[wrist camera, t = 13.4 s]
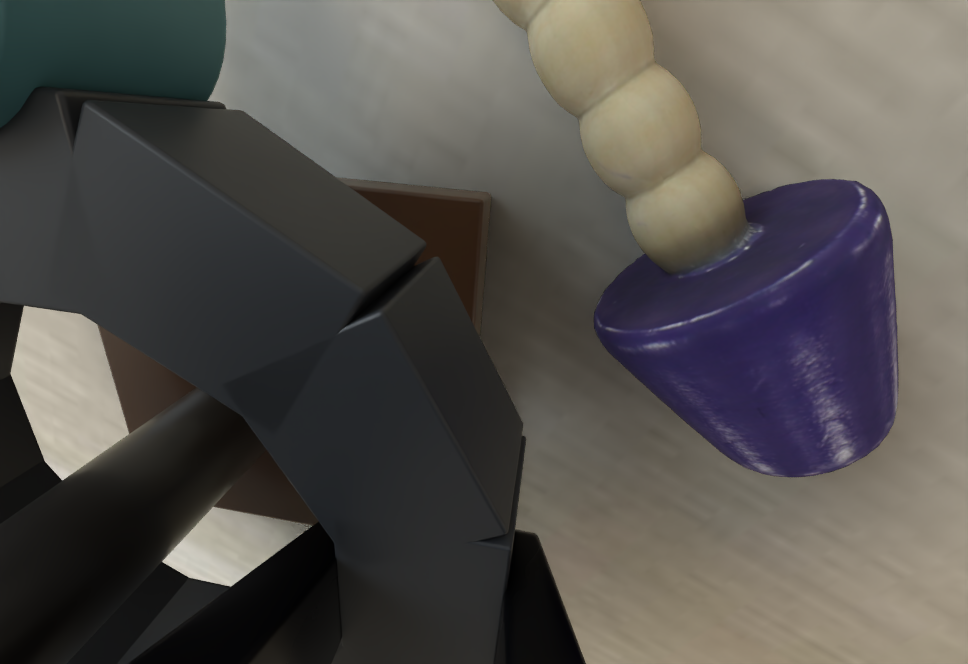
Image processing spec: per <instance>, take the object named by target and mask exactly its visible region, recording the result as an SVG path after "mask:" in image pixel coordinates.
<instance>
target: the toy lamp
mask: <svg viewBox="0 0 968 664" xmlns="http://www.w3.org/2000/svg"><path fill="white" fill-rule="evenodd" d="M493 1H494V2H495V4H496V5H497V6H498V7H499V9H500V10H501V11H502V12H503V13H504V14H505V15H506V16H507V17H508V18H509V19H510V20H511V21H512V22H513V23H514V24H516V25H517V26H519V27H521V28H522V29H524V30H526V32H527V35H528V42H529V49H530V53H531V57H532V60H533V63H534V66H535V68H536V71H537V73H538V75H539V77H540V78H541V80H542V82H543V84H544V86H545V87H546V89H547V90H548V91H549V93H550V94H551V96H552V97H553V98H554V99H555V101H556V102H557V103H558V104H559V105H560V106H561V107H563V108H564V109H565V110H566V111H568V112H569V113H571V114H572V115H574V116H575V117H577V118H578V120H579V125H580V135H581V141H582V144H583V148H584V151H585V154H586V156H587V158H588V160H589V162H590V164H591V166H592V167H593V169H594V170H595V172H596V173H597V174H598V176H599V177H600V178H601V179H602V181H603V182H604V183H605V184H606V185H607V186H609V187H610V188H611V189H612V190H613V191H615V192H616V193H618V194H620V195H622V196H623V197H625V199H626V213H627V218H628V223H629V225H630V228H631V231H632V234H633V236H634V238H635V240H636V242H637V243H638V245H639V246H640V248H641V249H642V250H643V252H644V253H645V254H643V255H642V256H641V257H639V258H637V259H636V261H635V262H634V263H632V264H631V265H630V266H628V267H627V268H626V269H625V270H623V271H622V272H621V273H620V274H619V275H618V276H617V277H616V279H615V280H614V281H613V282H612V283H611V284H610V285H609V286H608V287H607V288H606V290H605V291H604V293H603V295H602V296H601V298H600V300H599V302H598V303H597V307H596V310H595V312H594V328H595V331H596V334H597V336H598V338H599V339H600V341H601V343H602V344H603V346H604V347H605V348H606V350H607V351H608V352H609V353H610V354H611V355H612V356H613V357H614V358H615V359H617V360H618V361H619V362H620V363H621V364H622V365H623V366H624V367H625V368H626V369H627V370H628V371H629V372H631V373H632V374H633V375H634V376H635V377H636V378H637V379H638V380H639V381H640V382H642V383H643V384H644V385H645V386H646V387H647V388H648V389H649V390H650V391H651V392H653V393H654V394H655V395H656V396H657V397H658V398H659V399H660V400H661V401H663V402H664V403H665V404H666V405H667V406H668V407H670V408H671V409H672V410H673V411H674V412H675V413H676V414H677V415H678V416H679V417H681V418H682V419H683V420H684V421H685V422H686V423H687V424H689V425H690V426H691V427H692V428H693V429H695V430H696V431H697V432H698V433H699V434H700V435H702V436H703V437H704V438H705V439H706V440H707V441H709V442H710V443H711V444H712V445H713V446H714V447H716V448H717V449H718V450H719V451H720V452H722V453H723V454H724V455H726V456H727V457H728V458H730V459H731V460H733V461H735V462H736V463H738V464H740V465H742V466H743V467H745V468H748V469H750V470H753V471H756V472H759V473H762V474H766V475H771V476H779V477H806V476H815V475H819V474H824V473H828V472H832V471H835V470H838V469H841V468H843V467H846V466H848V465H850V464H852V463H854V462H856V461H857V460H859V459H861V458H863V457H865V456H866V455H868V454H869V453H870V452H871V451H873V450H874V449H875V448H877V447H878V446H879V444H880V443H881V442H882V441H883V439H884V438H885V437H886V436H887V434H888V433H889V431H890V429H891V427H892V425H893V423H894V419H895V414H896V409H897V404H898V349H897V323H896V297H895V282H894V264H893V239H892V234H891V229H890V223H889V218H888V215H887V212H886V210H885V207H884V205H883V204H882V202H881V200H880V199H879V197H878V196H877V195H876V194H875V193H874V192H873V191H872V190H871V189H869V188H867V187H865V186H864V185H862V184H861V183H859V182H857V181H847V180H836V179H821V180H813V181H807V182H802V183H796V184H789V185H785V186H781V187H777V188H775V189H773V190H772V191H766V192H763V193H761V194H758V195H756V196H753V197H750V198H747V199H745V200H742V197H741V193H740V190H739V188H738V186H737V184H736V183H735V181H734V179H733V178H732V176H731V175H730V174H729V172H728V171H727V170H726V168H725V167H724V166H723V165H722V164H721V163H719V162H718V161H717V160H716V159H715V158H713V157H712V156H710V155H709V154H707V153H705V152H704V151H702V149H701V128H700V122H699V118H698V115H697V112H696V109H695V106H694V104H693V102H692V100H691V98H690V96H689V94H688V93H687V91H686V90H685V88H684V87H683V86H682V84H681V83H680V82H679V81H678V80H677V79H676V78H675V77H674V76H673V75H672V74H671V73H670V72H669V71H667V70H666V69H664V68H663V67H661V66H660V65H658V64H657V63H656V62H655V59H654V44H653V34H652V31H651V27H650V24H649V21H648V18H647V15H646V13H645V10H644V8H643V6H642V4H641V2H640V0H493Z"/></svg>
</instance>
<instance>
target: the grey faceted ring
mask: <svg viewBox="0 0 968 664" xmlns="http://www.w3.org/2000/svg"><path fill="white" fill-rule="evenodd" d="M225 44H226V11H225V0H0V524H1V523H2V522H4V521H5V520H7V519H8V518H10V517H11V516H12V515H14V514H15V513H17V512H18V511H20V510H21V509H23V508H24V507H25V506H27V505H28V504H30V503H31V502H33V501H34V500H35V499H37V498H38V497H40V496H41V495H43V494H44V493H46V492H47V491H48V490H50V489H51V488H53V487H54V486H56V485H57V484H58V483H60V482H61V481H62V480H61V479H60V478H59V477H58V475H57V474H56V473H55V472H54V471H53V470H52V469H51V468H50V467H49V466H48V465H47V463H46V462H45V461H44V458H43V456H42V453H41V450H40V448H39V445H38V443H37V440H36V438H35V435H34V433H33V430H32V428H31V425H30V423H29V420H28V417H27V415H26V412H25V410H24V407H23V405H22V402H21V400H20V397H19V395H18V392H17V389H16V387H15V384H14V382H13V379H12V377H11V374H10V372H11V367H12V362H13V357H14V352H15V347H16V342H17V337H18V332H19V327H20V322H21V317H22V312H23V307H24V306H30V307H37V308H44V309H50V310H57V311H64V312H71V313H78V314H82V315H84V316H85V317H87V318H88V319H90V320H92V321H93V322H95V323H96V324H98V325H99V326H101V327H103V328H104V329H106V330H107V331H109V332H110V333H112V334H114V335H115V336H117V337H118V338H120V339H121V340H123V341H125V342H126V343H128V344H129V345H131V346H133V347H134V348H136V349H137V350H139V351H140V352H142V353H144V354H145V355H147V356H148V357H150V358H151V359H153V360H155V361H156V362H158V363H159V364H161V365H162V366H164V367H166V368H167V369H169V370H170V371H172V372H174V373H175V374H177V375H178V376H180V377H181V378H183V379H185V380H186V381H188V382H189V383H191V384H192V385H194V386H196V387H197V388H199V389H200V390H202V391H203V392H205V393H207V394H208V395H210V396H211V397H213V398H215V399H216V400H218V401H219V402H221V403H222V404H224V405H226V406H227V407H229V408H230V409H232V410H233V411H235V412H237V413H238V414H240V415H241V416H242V417H243V418H244V419H245V421H246V422H247V423H248V425H249V426H250V428H251V429H252V430H253V432H254V433H255V434H256V436H257V437H258V439H259V440H260V441H261V443H262V444H263V445H264V447H265V448H266V450H267V451H268V452H269V454H270V455H271V456H272V458H273V459H274V461H275V462H276V463H277V465H278V466H279V467H280V469H281V470H282V472H283V473H284V474H285V476H286V477H287V479H288V480H289V481H290V483H291V484H292V485H293V487H294V488H295V490H296V491H297V492H298V494H299V495H300V496H301V498H302V499H303V501H304V502H305V503H306V505H307V506H308V507H309V509H310V510H311V512H312V513H313V514H314V516H315V517H316V518H317V520H318V521H319V523H320V524H321V525H322V527H323V528H324V529H325V531H326V532H327V534H328V535H329V536H330V538H331V539H332V540H333V542H334V547H335V558H336V562H337V575H338V588H339V601H340V614H341V627H342V639H341V642H340V644H339V647H338V649H337V652H336V654H335V656H334V659H333V661H332V663H331V664H494V662H495V655H496V648H497V641H498V634H499V626H500V619H501V612H502V605H503V598H504V593H505V591H506V589H507V585H508V578H509V571H510V564H511V557H512V550H513V542H514V533H515V525H516V517H517V509H518V501H519V493H520V485H521V477H522V469H523V461H524V453H525V445H526V437H525V436H522V430H523V422H522V420H521V418H520V416H519V414H518V412H517V410H516V408H515V406H514V404H513V402H512V401H511V399H510V397H509V395H508V393H507V391H506V389H505V387H504V385H503V383H502V381H501V379H500V377H499V375H498V373H497V371H496V369H495V367H494V365H493V363H492V361H491V359H490V357H489V355H488V353H487V351H486V349H485V347H484V345H483V343H482V341H481V339H480V337H479V335H478V333H477V331H476V329H475V327H474V325H473V323H472V321H471V319H470V317H469V315H468V313H467V311H466V309H465V307H464V305H463V303H462V301H461V299H460V297H459V295H458V293H457V291H456V289H455V287H454V285H453V283H452V281H451V279H450V277H449V275H448V273H447V271H446V269H445V267H444V265H443V263H442V261H441V259H440V258H439V257H433V258H431V259H428V260H426V261H424V262H422V263H420V264H417V265H415V264H416V262H417V260H418V259H419V257H420V256H421V254H422V253H423V251H424V249H425V248H426V244H427V243H426V242H425V241H424V240H423V239H421V238H420V237H419V236H417V235H416V234H414V233H413V232H412V231H410V230H409V229H407V228H406V227H405V226H403V225H402V224H400V223H399V222H398V221H396V220H395V219H393V218H392V217H391V216H389V215H388V214H386V213H385V212H384V211H382V210H381V209H379V208H378V207H377V206H375V205H374V204H372V203H371V202H370V201H368V200H367V199H365V198H364V197H363V196H361V195H360V194H358V193H357V192H356V191H354V190H353V189H351V188H350V187H349V186H347V185H346V184H344V183H343V182H342V181H340V180H339V179H337V178H336V177H335V176H333V175H332V174H330V173H329V172H328V171H326V170H325V169H323V168H322V167H321V166H319V165H318V164H316V163H315V162H314V161H312V160H311V159H309V158H308V157H307V156H305V155H304V154H302V153H301V152H300V151H298V150H297V149H295V148H294V147H293V146H291V145H290V144H288V143H287V142H286V141H284V140H283V139H281V138H280V137H279V136H277V135H276V134H274V133H273V132H272V131H270V130H269V129H267V128H266V127H265V126H263V125H262V124H260V123H259V122H258V121H256V120H255V119H253V118H252V117H251V116H249V115H248V114H246V113H245V112H244V111H240V110H227V109H226V107H225V105H224V104H222V103H220V102H213V101H207V100H208V99H209V97H210V95H211V94H212V92H213V90H214V87H215V85H216V82H217V80H218V78H219V74H220V70H221V67H222V63H223V58H224V51H225ZM414 265H415V266H414ZM229 588H230V586H225V585H220V584H215V583H211V582H206V581H201V580H197V579H192V578H188V577H187V576H185V575H183V574H182V573H180V572H178V571H176V570H175V569H173V568H171V567H170V566H168V565H166V564H164V563H163V562H161V563H160V564H159V565H158V566H157V567H156V568H155V569H154V571H153V572H152V573H151V574H150V575H149V576H148V577H147V578H146V579H145V580H144V581H143V582H142V583H141V584H140V586H139V587H138V588H137V589H136V590H135V591H134V592H133V593H132V594H131V595H130V596H129V597H128V598H127V599H126V601H125V602H124V603H123V604H122V605H121V606H120V607H119V608H118V609H117V610H116V611H115V612H114V613H113V614H112V616H111V617H110V618H109V619H108V620H107V621H106V622H105V623H104V624H103V625H102V626H101V627H100V628H99V629H98V631H97V632H96V633H95V634H94V635H93V636H92V637H91V638H90V639H89V640H88V641H87V642H86V643H85V644H84V646H83V647H82V648H81V649H80V650H79V651H78V652H77V653H76V654H75V655H74V656H73V657H72V658H71V659H70V661H69V662H68V663H67V664H129V663H130V661H132V660H133V659H134V658H136V657H137V656H138V655H140V654H141V653H142V652H144V651H145V650H146V649H148V648H149V647H151V646H152V645H153V644H155V643H156V642H157V641H159V640H160V639H161V638H163V637H164V636H165V635H167V634H168V633H169V632H171V631H172V630H173V629H175V628H176V627H177V626H179V625H180V624H181V623H183V622H184V621H186V620H187V619H188V618H190V617H191V616H192V615H194V614H195V613H196V612H198V611H199V610H200V609H202V608H203V607H204V606H206V605H207V604H208V603H210V602H211V601H212V600H214V599H215V598H216V597H218V596H219V595H220V594H222V593H223V592H225V591H226V590H227V589H229Z"/></svg>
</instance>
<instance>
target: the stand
mask: <svg viewBox="0 0 968 664" xmlns="http://www.w3.org/2000/svg"><path fill="white" fill-rule="evenodd" d="M336 178H337V177H336ZM337 179H339V180H340V181H342V182H343V183H344V184H346V185H347V186H349V187H350V188H351V189H353V190H354V191H356V192H357V193H358V194H360V195H361V196H363V197H364V198H365V199H367V200H368V201H370V202H371V203H372V204H374V205H375V206H377V207H378V208H379V209H381V210H382V211H384V212H385V213H386V214H388V215H389V216H391V217H392V218H393V219H395V220H396V221H398V222H399V223H400V224H402V225H403V226H405V227H406V228H407V229H409V230H410V231H412V232H413V233H414V234H416V235H417V236H419V237H420V238H421V239H423V240H424V241H425V242H426V243H427V244H426V248H425V249H424V251H423V253H422V254H421V256H420V257H419V259H418V260H417V262H416V264H415V265H417V264H420V263H422V262H424V261H426V260H428V259H431V258H433V257H439V258H440V259H441V261H442V263H443V265H444V267H445V269H446V271H447V273H448V275H449V277H450V279H451V281H452V283H453V285H454V287H455V289H456V291H457V293H458V295H459V297H460V299H461V301H462V303H463V305H464V307H465V309H466V311H467V313H468V315H469V317H470V319H471V321H472V323H473V325H474V327H475V329H476V331H477V333H478V335H479V337H480V332H481V319H482V307H483V294H484V282H485V269H486V257H487V244H488V232H489V219H490V207H491V195H490V194H489V193H487V192H477V191H467V190H457V189H447V188H437V187H427V186H417V185H407V184H397V183H387V182H377V181H367V180H357V179H347V178H337ZM415 265H414V266H415ZM98 328H99V331H100V335H101V338H102V342H103V345H104V348H105V352H106V355H107V359H108V362H109V366H110V369H111V372H112V376H113V379H114V383H115V386H116V390H117V393H118V397H119V400H120V403H121V407H122V410H123V414H124V417H125V421H126V424H127V428H128V431H129V435H127V436H126V437H125V438H123V439H122V440H120V441H119V442H117V443H116V444H114V445H113V446H112V447H110V448H109V449H107V450H106V451H104V452H103V453H102V454H100V455H99V456H97V457H96V458H94V459H93V460H91V461H90V462H89V463H87V464H86V465H84V466H83V467H81V468H80V469H79V470H77V471H76V472H74V473H73V474H71V475H70V476H68V477H67V478H66V479H64V480H63V481H61V482H60V483H58V484H57V485H56V486H54V487H53V488H51V489H50V490H48V491H47V492H46V493H44V494H43V495H41V496H40V497H38V498H37V499H35V500H34V501H33V502H31V503H30V504H28V505H27V506H25V507H24V508H23V509H21V510H20V511H18V512H17V513H15V514H14V515H12V516H11V517H10V518H8V519H7V520H5V521H4V522H2V523H1V524H0V664H67V663H68V662H69V661H70V659H71V658H72V657H73V656H74V655H75V654H76V653H77V652H78V651H79V650H80V649H81V648H82V647H83V646H84V644H85V643H86V642H87V641H88V640H89V639H90V638H91V637H92V636H93V635H94V634H95V633H96V632H97V631H98V629H99V628H100V627H101V626H102V625H103V624H104V623H105V622H106V621H107V620H108V619H109V618H110V617H111V616H112V614H113V613H114V612H115V611H116V610H117V609H118V608H119V607H120V606H121V605H122V604H123V603H124V602H125V601H126V599H127V598H128V597H129V596H130V595H131V594H132V593H133V592H134V591H135V590H136V589H137V588H138V587H139V586H140V584H141V583H142V582H143V581H144V580H145V579H146V578H147V577H148V576H149V575H150V574H151V573H152V572H153V571H154V569H155V568H156V567H157V566H158V565H159V564H160V563H161V562H162V561H163V560H164V559H165V558H166V557H167V556H168V554H169V553H170V552H171V551H172V550H173V549H174V548H175V547H176V546H177V545H178V544H179V543H180V542H181V541H182V539H183V538H184V537H185V536H186V535H187V534H188V533H189V532H190V531H191V530H192V529H193V528H194V527H195V526H196V524H197V523H198V522H199V521H200V520H201V519H202V518H203V517H204V516H205V515H206V514H207V513H208V512H209V511H210V510H211V508H212V507H217V508H223V509H228V510H233V511H239V512H244V513H249V514H254V515H260V516H265V517H270V518H276V519H281V520H286V521H292V522H297V523H302V524H307V525H315V524H316V523H317V522H319V521H318V520H317V518H316V517H315V516H314V514H313V513H312V512H311V510H310V509H309V507H308V506H307V505H306V503H305V502H304V501H303V499H302V498H301V496H300V495H299V494H298V492H297V491H296V490H295V488H294V487H293V485H292V484H291V483H290V481H289V480H288V479H287V477H286V476H285V474H284V473H283V472H282V470H281V469H280V467H279V466H278V465H277V463H276V462H275V461H274V459H273V458H272V456H271V455H270V454H269V452H268V451H267V450H266V448H265V447H264V445H263V444H262V443H261V441H260V440H259V439H258V437H257V436H256V434H255V433H254V432H253V430H252V429H251V428H250V426H249V425H248V423H247V422H246V421H245V419H244V418H243V417H242V416H241V415H240V414H238V413H237V412H235V411H233V410H232V409H230V408H229V407H227V406H226V405H224V404H222V403H221V402H219V401H218V400H216V399H215V398H213V397H211V396H210V395H208V394H207V393H205V392H203V391H202V390H200V389H199V388H197V387H196V386H194V385H192V384H191V383H189V382H188V381H186V380H185V379H183V378H181V377H180V376H178V375H177V374H175V373H174V372H172V371H170V370H169V369H167V368H166V367H164V366H162V365H161V364H159V363H158V362H156V361H155V360H153V359H151V358H150V357H148V356H147V355H145V354H144V353H142V352H140V351H139V350H137V349H136V348H134V347H133V346H131V345H129V344H128V343H126V342H125V341H123V340H121V339H120V338H118V337H117V336H115V335H114V334H112V333H110V332H109V331H107V330H106V329H104V328H103V327H101V326H99V325H98Z"/></svg>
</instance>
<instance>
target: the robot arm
mask: <svg viewBox="0 0 968 664" xmlns="http://www.w3.org/2000/svg"><path fill="white" fill-rule="evenodd" d="M341 639H342V627H341V614H340V601H339V588H338V575H337V562H336V558H335V547H334V542H333V540H332V539H331V538H330V536H329V535H328V534H327V532H326V531H325V529H324V528H323V527H322V525H321V524H320V523H319V522H317V523H316V524H315V525H313V526H312V527H311V528H309V529H308V530H307V531H305V532H304V533H303V534H301V535H300V536H299V537H297V538H296V539H294V540H293V541H292V542H290V543H289V544H288V545H286V546H285V547H284V548H282V549H281V550H280V551H278V552H277V553H276V554H274V555H273V556H272V557H270V558H269V559H268V560H266V561H265V562H264V563H262V564H261V565H260V566H258V567H257V568H255V569H254V570H253V571H251V572H250V573H249V574H247V575H246V576H245V577H243V578H242V579H241V580H239V581H238V582H237V583H235V584H234V585H233V586H231V587H230V588H229V589H227V590H226V591H225V592H223V593H222V594H220V595H219V596H218V597H216V598H215V599H214V600H212V601H211V602H210V603H208V604H207V605H206V606H204V607H203V608H202V609H200V610H199V611H198V612H196V613H195V614H194V615H192V616H191V617H190V618H188V619H187V620H186V621H184V622H183V623H181V624H180V625H179V626H177V627H176V628H175V629H173V630H172V631H171V632H169V633H168V634H167V635H165V636H164V637H163V638H161V639H160V640H159V641H157V642H156V643H155V644H153V645H152V646H151V647H149V648H148V649H146V650H145V651H144V652H142V653H141V654H140V655H138V656H137V657H136V658H134V659H133V660H132V661H130V663H129V664H331V663H332V661H333V659H334V656H335V654H336V652H337V649H338V647H339V644H340V642H341ZM494 664H586V663H585V660H584V657H583V655H582V652H581V649H580V647H579V644H578V641H577V639H576V636H575V633H574V631H573V628H572V625H571V623H570V620H569V617H568V615H567V612H566V609H565V607H564V604H563V601H562V599H561V596H560V593H559V591H558V588H557V585H556V583H555V580H554V578H553V575H552V572H551V570H550V567H549V564H548V562H547V559H546V556H545V554H544V551H543V548H542V546H541V543H540V540H539V538H538V536H537V535H536V534H535V533H531V532H525V531H520V530H515V533H514V542H513V550H512V557H511V564H510V571H509V578H508V585H507V589H506V591H505V593H504V598H503V605H502V612H501V619H500V626H499V634H498V641H497V648H496V655H495V662H494Z"/></svg>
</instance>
